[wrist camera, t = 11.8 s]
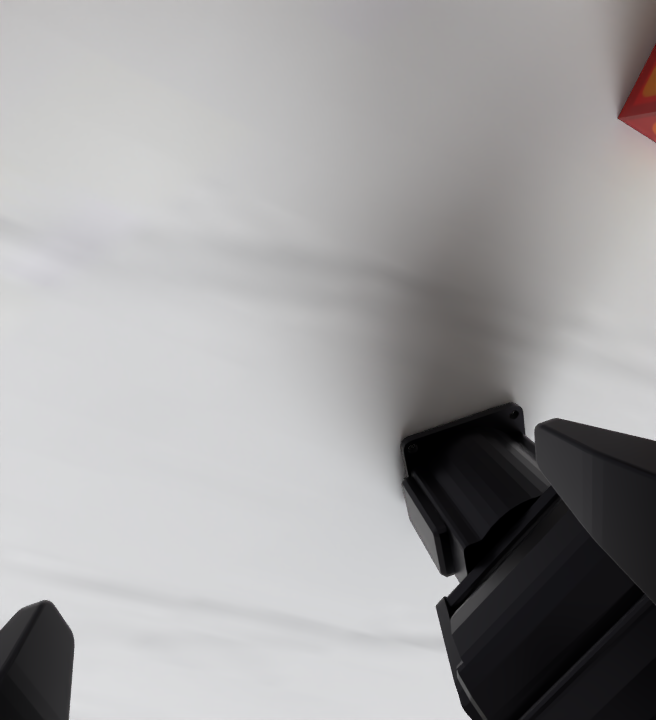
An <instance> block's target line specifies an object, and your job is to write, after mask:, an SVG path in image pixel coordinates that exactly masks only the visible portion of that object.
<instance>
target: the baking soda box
mask: <svg viewBox="0 0 656 720" xmlns="http://www.w3.org/2000/svg"><path fill="white" fill-rule="evenodd" d="M618 119H619V120H621V121H623V122H624V123H626V124H627V125H629V126H630V127H632V128H634V129H635V130H637V131H638V132H640V133H641V134H643V135H645V136H646V137H648V138H649V139H651V140H652V141H654V142H656V44H655V46H654V48H653V50H652V52H651V54H650V56H649V58H648V60H647V62H646V64H645V66H644V68H643V70H642V72H641V73H640V75H639V77H638V79H637V81H636V83H635V85H634V87H633V89H632V91H631V93H630V95H629V97H628V99H627V101H626V103H625V105H624V107H623V109H622V111H621V113H620V115H619V117H618Z"/></svg>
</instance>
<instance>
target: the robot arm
mask: <svg viewBox="0 0 656 720" xmlns="http://www.w3.org/2000/svg"><path fill="white" fill-rule="evenodd" d="M512 411H514V413H513V414H512V415H510V413H511V412H512ZM534 434H535V443H534V442H533V441H532V440H530V439H529V438H528V437H527V436H525V427H524V416H523V410H522V408H521V407H520V406H518V405H517V404H516V403H507V404H504V405H501V406H498V407H495V408H492V409H489V410H486V411H483V412H480V413H477V414H474V415H472V416H469V417H466V418H463V419H460V420H457V421H454V422H451V423H448V424H445V425H442V426H439V427H436V428H433V429H430V430H427V431H424V432H421V433H418V434H415V435H412V436H409V437H407V438H405V439H404V440H403V441H402V443H401V452H402V457H403V461H404V466H405V471H406V475H407V478H404V480H403V482H402V487H403V492H404V496H405V501H406V506H407V510H408V515H409V519H410V521H411V523H412V525H413V527H414V528H415V530H416V532H417V534H418V535H419V537H420V539H421V541H422V542H423V544H424V546H425V548H426V549H427V551H428V553H429V555H430V556H431V558H432V560H433V562H434V563H435V565H436V567H437V569H438V570H439V572H440V574H442V575H444V576H446V577H448V576H451V575H454V574H455V576H456V577H457V579H458V581H459V582H460V584H459V585H458V586H457V587H456V588H455V589H454V590H453V591H452V592H451V593H450V594H449V596H448V597H445V596H444V597H443V598H442V599H441V600H440V602H439V603H438V604H437V605H436V610H437V614H438V618H439V622H440V626H441V630H442V634H443V638H444V642H445V646H446V650H447V654H448V658H449V662H450V666H451V671H452V675H453V679H454V683H455V686H456V689H457V692H458V694H459V698H460V702H461V705H462V707H463V709H464V711H465V712H466V713H467V714H468V716H469V717H470V718H471V719H472V720H656V441H654V440H650V439H645V438H641V437H637V436H632V435H628V434H624V433H620V432H615V431H611V430H607V429H602V428H598V427H594V426H589V425H585V424H581V423H577V422H572V421H568V420H564V419H559V418H554V419H550V420H548V421H545V422H542V423H539V424H538V425H537V426H536V427H535V432H534ZM414 444H415V446H414V447H413V448H412V449H408V448H409V447H410V446H411V445H414ZM73 659H74V637H73V633H72V631H71V629H70V628H69V626H68V625H67V623H66V622H65V620H64V619H63V617H62V616H61V614H60V613H59V611H58V610H57V608H56V607H55V605H54V604H53V603H52V602H50V601H48V600H43V601H40V602H37V603H34V604H31V605H29V606H26V607H24V608H22V609H20V610H19V611H18V612H17V613H16V614H15V615H14V616H13V617H12V618H11V619H10V620H9V621H8V623H7V624H6V625H5V626H4V627H3V628H2V629H1V630H0V720H69V711H70V698H71V685H72V672H73Z"/></svg>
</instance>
